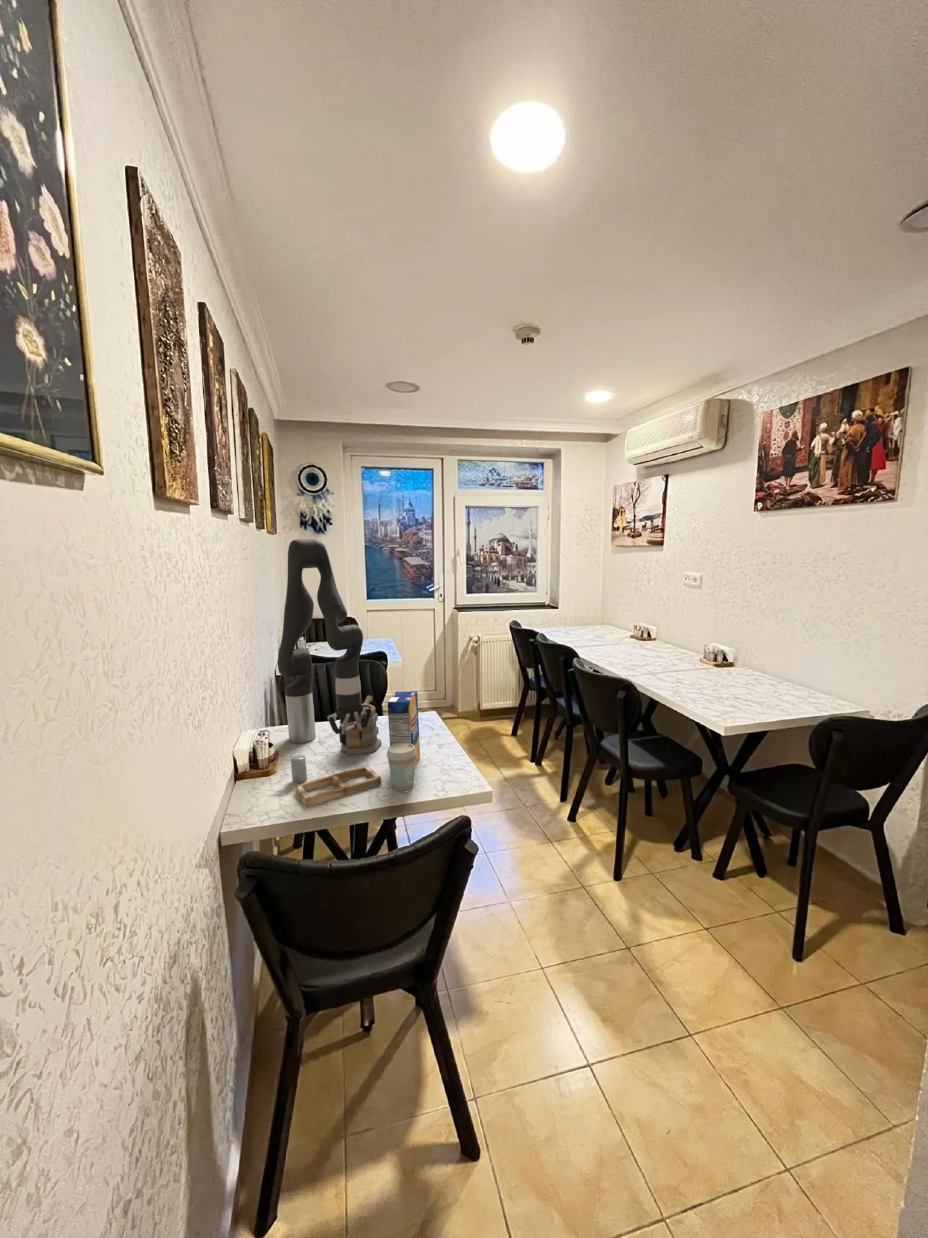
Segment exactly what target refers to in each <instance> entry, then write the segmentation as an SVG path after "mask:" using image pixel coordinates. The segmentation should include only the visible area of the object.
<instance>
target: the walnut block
mask: <svg viewBox="0 0 928 1238" xmlns="http://www.w3.org/2000/svg"><path fill="white" fill-rule="evenodd" d="M345 734H346V745H345V746H346V747H351V746H355V745H359V744H360V740H359V729H358V728H357V727H356V726H355V725H353V726H348V727H346V731H345Z"/></svg>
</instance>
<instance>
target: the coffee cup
mask: <svg viewBox="0 0 928 1238" xmlns="http://www.w3.org/2000/svg"><path fill="white" fill-rule="evenodd" d="M386 751H387V752H386V758H387V760H388V761H387V762H388V766H389V767H388V768H389V772H390V778H391V784H392V788H393V790H394V791H395V792H397V793H407V792H410V791H412V790H413V789H414V785H415V770H416V766H415V758H416V754H417V752H416V749H415V747H414V745H413V744H410V743H397V744H393V745H391V746H390V745H389V746H388V748H387V750H386Z"/></svg>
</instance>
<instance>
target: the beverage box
mask: <svg viewBox="0 0 928 1238" xmlns="http://www.w3.org/2000/svg"><path fill="white" fill-rule="evenodd" d="M418 699H419V698H418V691H395V692H394V694H393V695H392V696H391V697H390V699H388V701H387V716H388V732H389V733H388V735H389V737H388V738H389V747H390V746H391V745H393V744H397V743H410V744H413V745H414V747H415V749H416V752H417V754H416V758H415V767H416V766H417V763H418V762H419V760H420V758H421V747H420V746H421V745H420V726H419V725H420V723H419V706H418V705H419V703H418V702H419V701H418Z"/></svg>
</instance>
